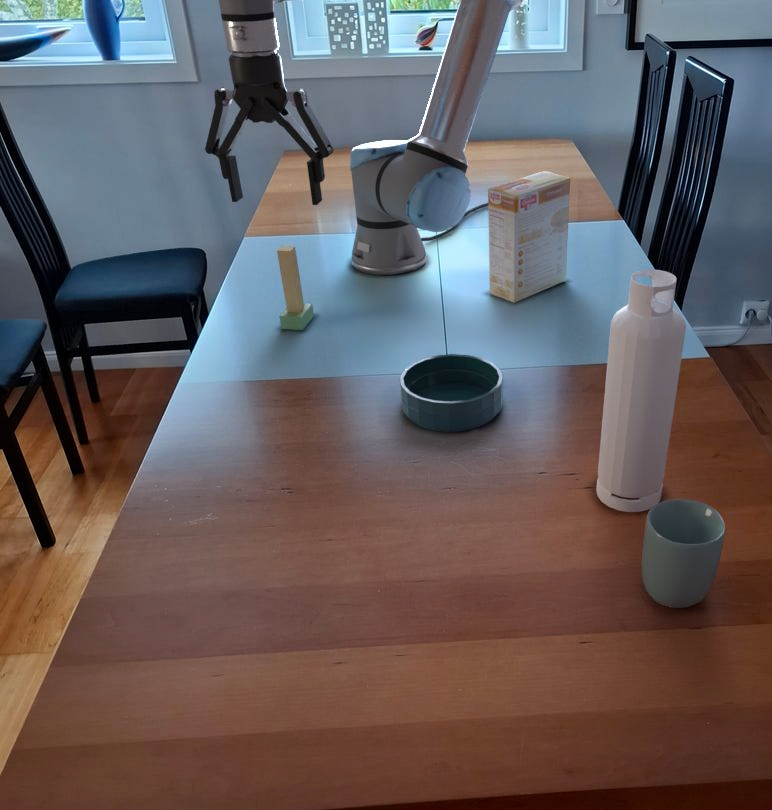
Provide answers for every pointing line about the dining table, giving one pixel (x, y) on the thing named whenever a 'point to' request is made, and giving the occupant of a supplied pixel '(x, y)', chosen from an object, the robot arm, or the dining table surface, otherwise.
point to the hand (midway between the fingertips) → (277, 201)
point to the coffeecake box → (528, 235)
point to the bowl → (451, 392)
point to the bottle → (640, 394)
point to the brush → (292, 292)
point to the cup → (681, 551)
